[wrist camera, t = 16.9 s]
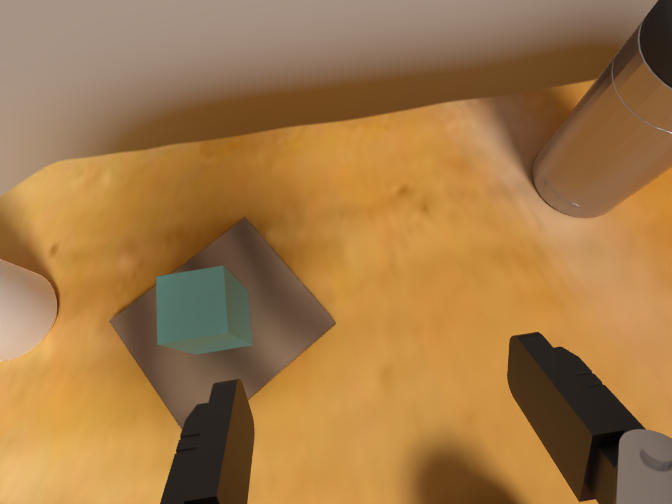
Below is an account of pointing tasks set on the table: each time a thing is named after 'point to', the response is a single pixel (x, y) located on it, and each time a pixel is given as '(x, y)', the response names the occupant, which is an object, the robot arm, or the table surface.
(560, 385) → the robot arm
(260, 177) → the table surface
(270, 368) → the post board
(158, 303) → the tall teal pillar
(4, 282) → the alcohol
